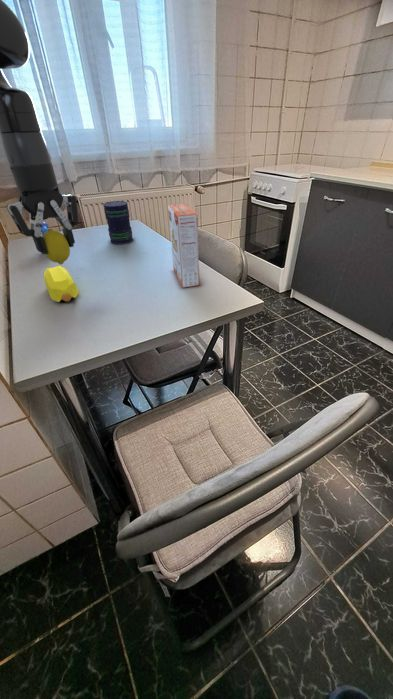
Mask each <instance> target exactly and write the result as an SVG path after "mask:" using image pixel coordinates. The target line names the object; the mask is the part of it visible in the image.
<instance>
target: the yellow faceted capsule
mask: <svg viewBox="0 0 393 699" xmlns="http://www.w3.org/2000/svg"><path fill="white" fill-rule="evenodd" d="M43 279H44V280H43V281H44V286H45V287H46V290H47V292H48V294H49V298H50V299H51V300H53V301H54V302H56V303H60V302H61V301H64V302H70V301H71V299H76V298H77V296H78V295H79V294H80V291H79V289H78V287H77V284H76V283H75V281H74V280H73V278H72V275H71V274H70V273H69V271H68V269H67V268H65V267H63V266H61V265H56V266H54V267H47V268H46V269H45V270H44V272H43Z"/></svg>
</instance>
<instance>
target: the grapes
mask: <svg viewBox="0 0 393 699" xmlns="http://www.w3.org/2000/svg"><path fill="white" fill-rule="evenodd" d="M49 229H50V228H49V224H48V223H47V222H45V220H43V223H42V226H41V235H40V236H41V237H43V235H44V234H45V233H46V232H47V231H48V230H49Z"/></svg>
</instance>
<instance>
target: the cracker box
mask: <svg viewBox="0 0 393 699" xmlns="http://www.w3.org/2000/svg"><path fill="white" fill-rule="evenodd" d="M167 211H168V221H169V233H170V243H171V244H170V245H171V258H172V267H173V272H174V274H175V276H176V278H177V280H178V282H179V285H180V286H181V288H182V289H184V288H191V287H198V286H200V259H199V258H200V257H199V255H200V254H199V223H198V222H199V221H198V220H199V218H198V213H197V212H196V211H195V210H193V209H192V208H191V207H190V206H189V205H188V204H187V203H174V204H172V203H171V204H168V205H167Z"/></svg>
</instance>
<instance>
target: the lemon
mask: <svg viewBox="0 0 393 699" xmlns="http://www.w3.org/2000/svg"><path fill="white" fill-rule="evenodd" d="M48 229H49V230H48V231H47V232H46V233H45V234H44V235H43V240H44V243H45V246H46V249H47V252H48V254H45V256H46V257H47V259H48V260H50V261H51V262H53V263H57V264H58V265H59V266H61V265H63V264H64V263H65V262H66V261H67V260H68V259H69V257H70V254H71V249H70V248H71V247H69V244H68V242H67V240H66V238H65V236H64V234H63V232H60V231H58V230H55V229H53V228H48Z"/></svg>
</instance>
